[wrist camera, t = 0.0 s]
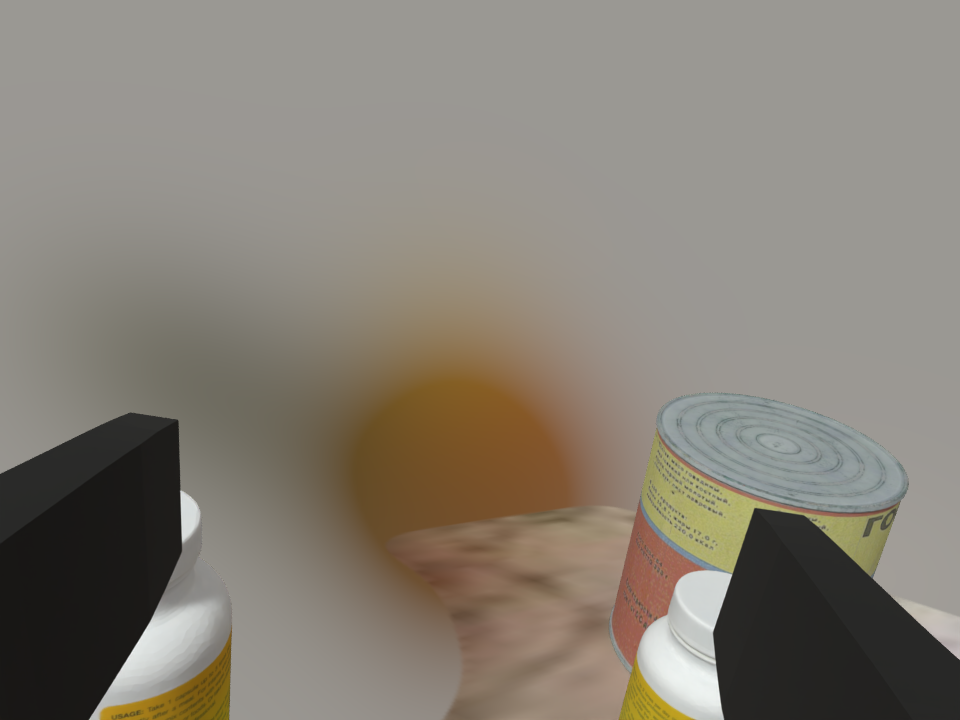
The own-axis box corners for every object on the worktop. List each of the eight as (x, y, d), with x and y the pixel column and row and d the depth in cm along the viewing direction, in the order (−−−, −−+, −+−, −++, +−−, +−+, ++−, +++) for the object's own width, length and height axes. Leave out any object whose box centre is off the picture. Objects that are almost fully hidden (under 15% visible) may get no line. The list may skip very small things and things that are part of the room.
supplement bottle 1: (254, 776, 32) (270, 485, 28) (173, 946, 26) (176, 608, 22) (90, 740, 33) (79, 448, 28) (-28, 898, 27) (-67, 558, 22)
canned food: (871, 746, 38) (960, 521, 34) (629, 722, 38) (690, 489, 33) (785, 593, 49) (844, 407, 45) (594, 572, 48) (637, 381, 44)
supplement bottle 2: (659, 881, 31) (724, 667, 27) (577, 767, 35) (624, 570, 31) (766, 834, 33) (837, 632, 30) (677, 733, 37) (731, 547, 34)
